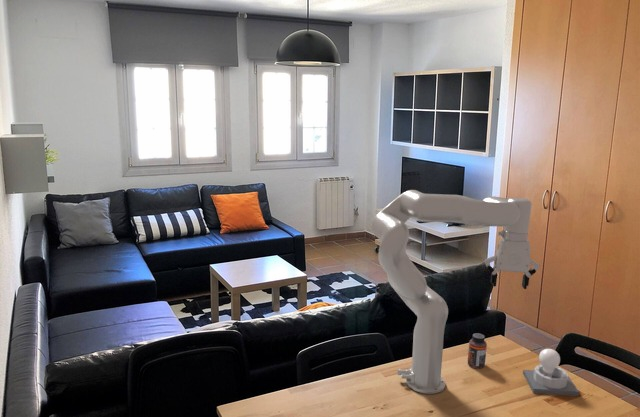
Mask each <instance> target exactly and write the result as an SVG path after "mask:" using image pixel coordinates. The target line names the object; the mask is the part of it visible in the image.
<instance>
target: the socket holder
mask: <svg viewBox="0 0 640 417" xmlns="http://www.w3.org/2000/svg"><path fill="white" fill-rule="evenodd" d="M522 374H523V377H524V378H525V381H526V382H527V384H528V385H529V388H530V390H531V392H532V393H533V394H545V395H557V396H558V395H559V396H571V397H572V396H573V397H575V396H576V397H579V395H580V391H579V389H578V388H577V387H576V385H575V384H574V382H573V381H572V379H571V378H570V376H569V373H568V372H567V371H566V370H564V369H563V368H562V367H559V366H557V367H556V368H555V369H554V371H553V373H552V378H551V377H547V376H544V375H543V367H542V365H541V364H538V365H536V366H535V367H534V369H522Z"/></svg>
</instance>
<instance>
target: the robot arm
mask: <svg viewBox="0 0 640 417" xmlns="http://www.w3.org/2000/svg"><path fill="white" fill-rule="evenodd" d="M531 213H532V202H531V200H529V199H527V198H525V197H524V198H523V197H509V198H508V197H500V196H487V197H485V198H483V200H480V199H476V198H471V197H468V196H466V195H459V194H440V193H424V192H421V191H419V190H417V189H409V190H406V191H404V192H402V193H401V194H400V195H398V196H397V197H396V198H395V199H394V200H392V201H391V202H390V203H389V204H388V205H386V206H385V207H384V208H383V209H381V210H380V211H379V212H378V213H376V215H375V216H374V217H373V218H372V220H371V227H370V228H371V232H372V233H373V235H374V236H375V237H376V238H378V240H380V245H379V249H378V253H377V254H378V255H377V257H378V259H377V260H378V263H379V265H380V267H381V269H383V271H384V273H386V277H387V281H388V283H389V285H390V287H391V288H392V289H393V290H394V292H396V294H397V295H398V297H400V299H401V300H402V301H403V302H404V303H405V305H406V306H407V307H408V308H409V309H410V310H411V311H412V312H413V313H414V314H415V316H416V317H417V319H416V323H415V326H414V327H413V328H414V329H413V337H412V340H413V342H412V354H411V355H412V356H411V357H412V358H411V359H412V360H411V365H410V366H409V368H406V369H402V368H401V369H400V368H398V369H397V370H396V371H397V373H396V374H397V376H400V377H401V379H404V380H405V379H406V380H405V382H406V385H407V386H408V387H409V388H410V389H411V390H413V391H414V392H417V393H421V394H424V395H426V394H427V395H433V394H434V395H435V394H438V393H440V392H443V390H445V388H446V380H445V379H444V377H442V369H443V368H442V366H443V352H444V351H443V350H444V334H445V330H446V329H445V328H446V322H447V320H448V315H449V308H448V305H447V302H446V301H445V300H444V298H443V297H442V296H440V295H439V294H438V293H437V292H436V291H435V290H433V289H431V288H430V286H428V284H427V281H426V278H425V276H424V274H423V273H422V272H421V271H420V270H419V269H418V267H417V266H416V265H415V264H414V262H413V261H412V260H411V259H410V257H409V256H408V254H407V250H406V249H407V244H408V242H409V238H410V230H409V228H408V226H407V225H406V222H407V221H409V220H410V219H413V220H415V221H417V222H426V223H427V222H429V223H459V224H465V225H475V226H476V225H477V226H483V227H503V229H502V231H498V233H497V234H498V237H499V236H500V237H501V238H499V239H500V240H499V242H498V245H497V249H496V252H495V255H493V256H490V257H488V258H485V259H484V264H485V266H486V268H487V270H488V271H489V272H490V273H491V275H490V283H491V285H492V286H493V288H494V287H497V279H498V275H497V273H499V271H502V272H509V273H510V272H511V273H512V272H513V273H524V274H523V275H522V281H521V287H522V288H523V289H524V290H526V289H528V288H527V287H529V285H530V284H529V283H530V278H531V277H532V276H533V275H534V274H535V273H537V271H538V270H539V268H540V264H539V263H538V262H536V261H535V260H534V259H531V244H530V241H529V240H528V236H529V228H530V220H531ZM492 262H494V266H493V267H492V266H491V263H492ZM530 265H532V268H530Z"/></svg>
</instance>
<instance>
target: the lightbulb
mask: <svg viewBox="0 0 640 417" xmlns="http://www.w3.org/2000/svg"><path fill="white" fill-rule="evenodd" d="M538 360H539V363H540V365H542V367H543V375H544V376H547V377H551V378H552V373H553V371H554V369H555V368H556V367H559V365H560V363H561V356H560V354H559V353H558V352H557V351H556V350H555V349H554V348H553V349H552V348H545V349H542V350H541V351H540V352H539V356H538Z"/></svg>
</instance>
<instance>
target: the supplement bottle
mask: <svg viewBox="0 0 640 417" xmlns="http://www.w3.org/2000/svg"><path fill="white" fill-rule="evenodd" d="M487 344H488V343H487V342H486V340H485V335H484V334H482V333H479V332H478V333H476V332H475V333H473V334H472V337H471V339H470V340H469V342H468V353H467V365H468V366H469V367H471V368H474V369H482V368H484V367H485V366H486V357H487V346H488V345H487Z"/></svg>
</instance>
